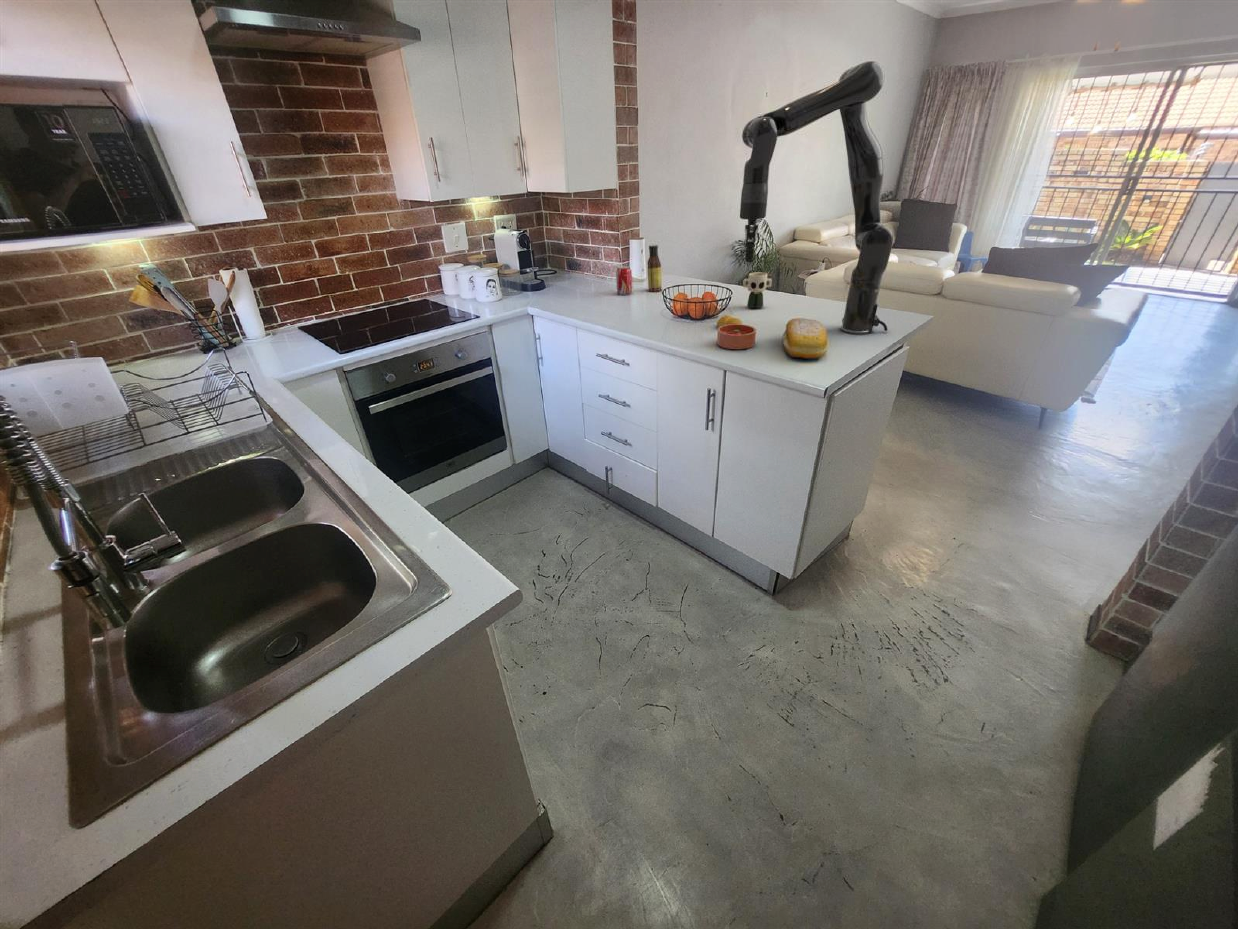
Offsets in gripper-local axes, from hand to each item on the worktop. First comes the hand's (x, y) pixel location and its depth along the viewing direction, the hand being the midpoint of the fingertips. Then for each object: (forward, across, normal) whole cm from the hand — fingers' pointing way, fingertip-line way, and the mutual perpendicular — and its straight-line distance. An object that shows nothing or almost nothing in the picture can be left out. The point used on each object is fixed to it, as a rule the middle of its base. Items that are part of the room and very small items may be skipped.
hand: (749, 259), depth 156 cm
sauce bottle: (+26, +72, +42) cm, 87 cm away
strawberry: (+26, -3, +2) cm, 26 cm away
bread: (+26, -4, -19) cm, 33 cm away
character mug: (+26, +44, -4) cm, 51 cm away
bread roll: (+26, +16, +5) cm, 31 cm away
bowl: (+26, -3, +2) cm, 26 cm away
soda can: (+26, +65, +55) cm, 89 cm away
